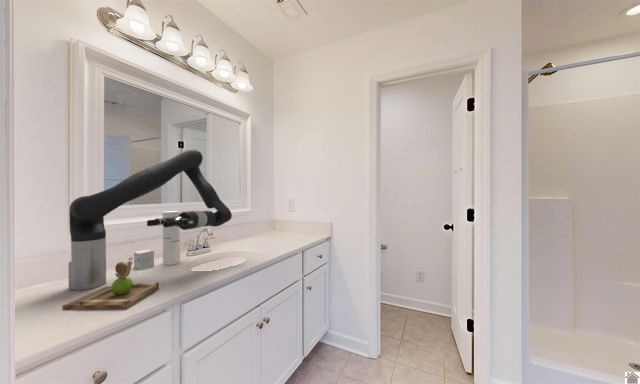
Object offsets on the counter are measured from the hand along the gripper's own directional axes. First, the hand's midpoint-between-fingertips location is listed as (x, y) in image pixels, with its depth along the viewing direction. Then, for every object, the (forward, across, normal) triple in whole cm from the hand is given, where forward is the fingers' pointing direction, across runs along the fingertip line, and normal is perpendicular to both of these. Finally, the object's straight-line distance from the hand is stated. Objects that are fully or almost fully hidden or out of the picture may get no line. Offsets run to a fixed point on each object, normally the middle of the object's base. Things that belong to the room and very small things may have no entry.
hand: (155, 223), depth 87 cm
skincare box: (-15, -28, +23) cm, 39 cm away
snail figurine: (+10, 0, +22) cm, 24 cm away
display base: (+11, -2, +23) cm, 26 cm away
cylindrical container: (-23, -21, +23) cm, 39 cm away
